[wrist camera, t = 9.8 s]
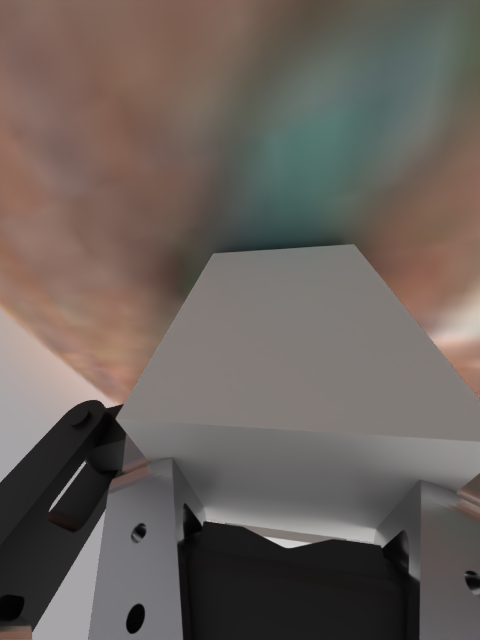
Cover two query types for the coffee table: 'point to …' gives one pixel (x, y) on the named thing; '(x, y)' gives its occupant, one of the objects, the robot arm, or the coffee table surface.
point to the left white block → (302, 395)
